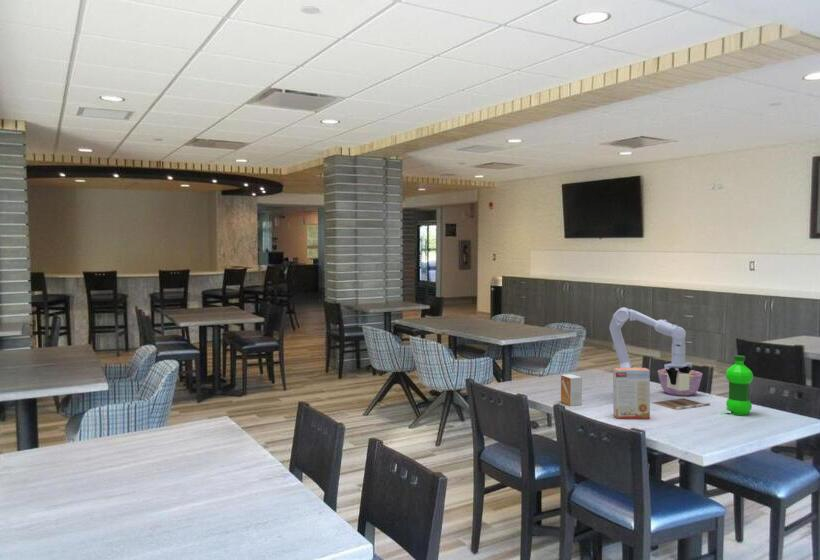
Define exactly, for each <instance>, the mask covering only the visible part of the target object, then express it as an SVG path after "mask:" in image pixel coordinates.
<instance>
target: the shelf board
mask: <svg viewBox="0 0 820 560" xmlns="http://www.w3.org/2000/svg"><path fill="white" fill-rule="evenodd" d="M652 404H654V405H656V406H660V407H664V408H668V409H671V410H675V411H682V410H689V409H695V408H702V407H707V406H711V403H709V402H706V403H705V402H704V403H703V402H699V401H696V400H691V399H688V398H677V399H675V398H674V399H669V400H660V401H653V402H652Z"/></svg>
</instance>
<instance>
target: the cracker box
mask: <svg viewBox="0 0 820 560" xmlns="http://www.w3.org/2000/svg"><path fill="white" fill-rule="evenodd" d="M612 372H613V373H612V374H613V375H612V376H613V377H612V380H613V382H612V385H613V389H612V391H613V392H612V393H613V394H612V395H613V399H612V400H613V401H612V402H613V404H612V406H613V407H612V408H613V410H612V411H613V413H612V414H613V416H614V417H615V418H616V419H627V420H629V419H634V420H635V419H636V420H637V419H640V420H641V419H642V420H644V419H645V420H649V419H651V387H650V385H651V383H650V382H651V377H650V376H651V373H650V372H651V371H650V369H649V368H647V367H633V368H620V367H613V369H612Z"/></svg>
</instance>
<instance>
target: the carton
mask: <svg viewBox="0 0 820 560" xmlns="http://www.w3.org/2000/svg"><path fill="white" fill-rule="evenodd" d="M667 387H668V388H672V389H676V390H680V391H683V390H689V374H686V373H682V372H678V373H677V377H676V385H673V384H671V382H670V378H669V375H668V373H667Z"/></svg>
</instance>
